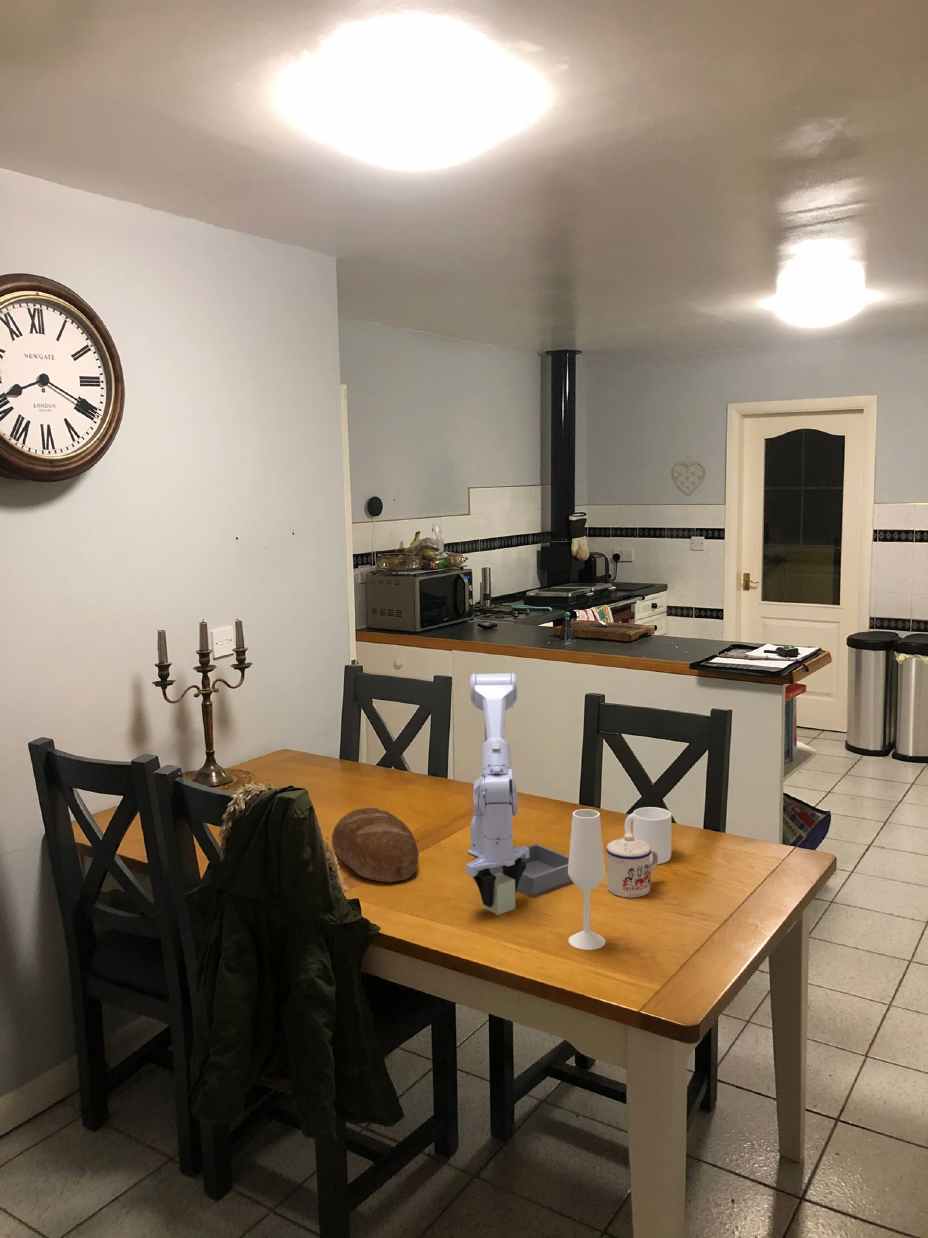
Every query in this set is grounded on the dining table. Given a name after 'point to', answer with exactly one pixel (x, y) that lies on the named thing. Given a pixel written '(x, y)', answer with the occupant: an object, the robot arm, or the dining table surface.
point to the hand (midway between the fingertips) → (499, 901)
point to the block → (503, 895)
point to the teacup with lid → (629, 866)
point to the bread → (376, 845)
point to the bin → (541, 871)
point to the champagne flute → (586, 869)
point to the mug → (652, 830)
